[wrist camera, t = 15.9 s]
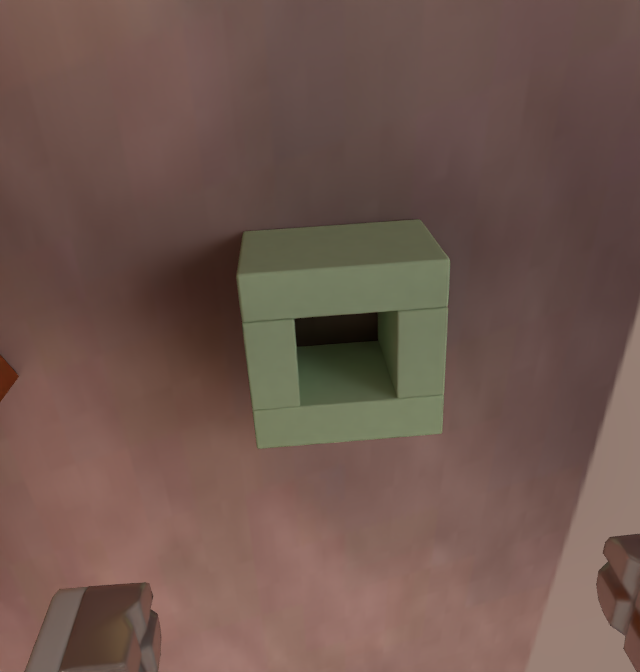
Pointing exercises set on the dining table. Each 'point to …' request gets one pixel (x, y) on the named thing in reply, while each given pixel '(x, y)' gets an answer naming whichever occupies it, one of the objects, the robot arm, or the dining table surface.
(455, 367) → the dining table surface
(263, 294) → the green hollow square block
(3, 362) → the book
